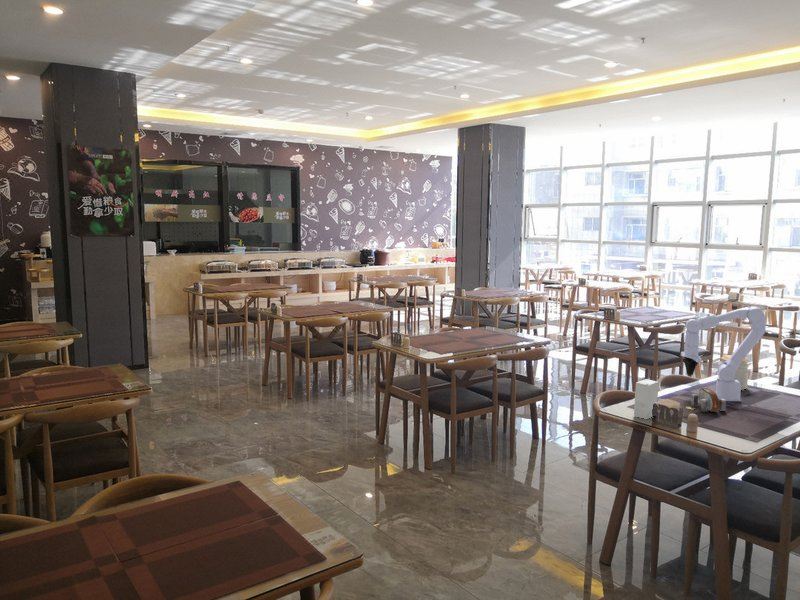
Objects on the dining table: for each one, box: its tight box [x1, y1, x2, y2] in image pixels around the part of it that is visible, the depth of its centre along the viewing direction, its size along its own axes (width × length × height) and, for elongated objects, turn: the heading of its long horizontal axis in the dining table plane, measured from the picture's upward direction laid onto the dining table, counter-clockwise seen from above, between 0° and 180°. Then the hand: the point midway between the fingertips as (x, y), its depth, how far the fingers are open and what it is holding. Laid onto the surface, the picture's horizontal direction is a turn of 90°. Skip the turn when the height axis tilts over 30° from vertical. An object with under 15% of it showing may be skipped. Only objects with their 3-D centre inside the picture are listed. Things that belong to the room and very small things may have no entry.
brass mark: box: [685, 406, 697, 411], centre depth 267 cm, size 4×4×1 cm
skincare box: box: [633, 378, 660, 420], centre depth 254 cm, size 8×6×15 cm
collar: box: [690, 393, 699, 407], centre depth 271 cm, size 10×2×5 cm, turn 92°
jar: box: [717, 351, 750, 391], centre depth 301 cm, size 13×13×18 cm
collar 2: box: [700, 399, 727, 413], centre depth 263 cm, size 10×2×5 cm, turn 92°
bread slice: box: [698, 387, 719, 413], centre depth 266 cm, size 15×3×8 cm, turn 175°
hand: (689, 374), depth 286 cm, fingers closed
